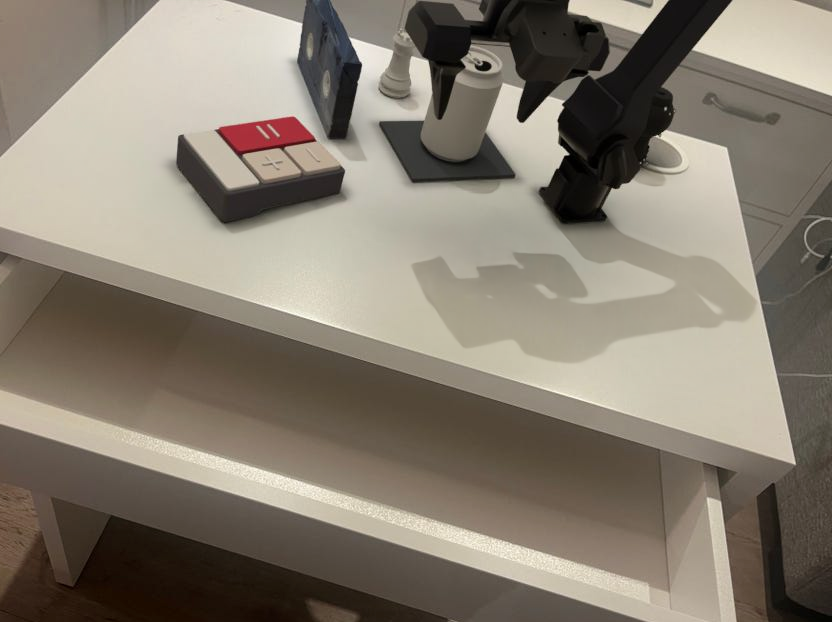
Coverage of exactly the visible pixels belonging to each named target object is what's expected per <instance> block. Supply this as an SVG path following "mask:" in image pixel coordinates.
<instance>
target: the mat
mask: <svg viewBox="0 0 832 622" xmlns="http://www.w3.org/2000/svg"><path fill="white" fill-rule="evenodd" d="M423 124H424V120H381V121H380V120H379V122H378V126H379V128H380V129H381V131H382V132H383V134H384V135H385V137H386V139H387V142H388V143H389V145H390V147H391V148H392V149H393V151H394V154H395V155H396V157H397V159H398V160H399V162H400V164H401V165H402V167H403V170H404V171H405V172H406V175H407V176H408V177H409V179H410V181H411V182H412V183H424V182H428V183H429V182H448V181H472V180H492V179H493V180H495V179H496V180H497V179H514V178H515V177H516V176H517V174H516V173H515V171H514V170H513V168H512V167H511V165H510V164H509V162H508V161H507V160H506V159H505V157H504V156H503V155H502V153H501V152H500V150H499V149H498V147H497V146H496V145H495V143H494V142H493V141H492V139H491V137H490V136H489V134H488V133H487V132H485V134H484V137H483V140H482V143H481V145H480V148H479V151H478V153H477V155H475V156H474V157H472V158H469V159H466V160H464V161H460V162H451V161H446V160H443V159H440V158H438V157H436V156H434V155H433V154H431V153H430V152H429V151H428V150H427V148H426V146H425V145H424V144H423V142H422V140H421V131H422V127H423Z"/></svg>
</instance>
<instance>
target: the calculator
mask: <svg viewBox="0 0 832 622" xmlns="http://www.w3.org/2000/svg"><path fill="white" fill-rule="evenodd" d="M175 159H176V160H175V164H176V166H177V167H178V168H179V169H180V171H181V172H182V173H183V174H184V176H185V177H186V178H187V180H188V181H189V182H190V183H191V185H192V186H193V187H194V189H195V190H196V191H197V192H198V193H199V194H200V196H201V197H202V199H203V200H204V201H205V202H206V203H207V205H208V206H209V207H210V208H211V210H212V211H213V212H214V213H215V215H216V216H217V218H219V220H220V221H221V222H223V223H227V222H231V221H237V220H240V219H245V218H250V217H254V216H255V215H257V214H258V213H260V212H261V211H262V210H266V209H270V208H276V207H280V206H284V205H289V204H294V203H298V202H302V201H308V200H312V199H317V198H321V197H326V196H330V195H335V194H339V193H340V192H341V189H342V185H343V182H344V178H345V174H346V169H345V167H343V166H342V164H341V162H340V161H339V160H338V159H337V158H336V157H335V156H334V155H333V154H332V153H331V152H330V151H329V150H328V149H327V148H326V147H325V146H324V145H323V143H321V142H320V141H318V140H317V139H316V137H315V136H314V135H313V134H312V132H310V131H309V129H308V128H307V127H306V126H305V125H303V124H302V123H301V121H300V120H299V119H298V118H297V117H295V116H293V115H292V116H285V117H278V118H272V119H265V120H257V121H252V122H244V123H238V124H232V125H223V126H219V127H218V128H217V129H207V130H199V131H194V132H193V131H192V132H186V133H184V134H179V135H178V136H177V147H176V158H175Z"/></svg>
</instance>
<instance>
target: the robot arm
mask: <svg viewBox="0 0 832 622" xmlns="http://www.w3.org/2000/svg"><path fill="white" fill-rule="evenodd" d="M570 1H571V0H480V3H479V7H478V11H479V12H480V13H481V14H482V16H483V18H482V20H474V19H472V20H471V19H465V17H464V16H463V15H462V13H461V12H460V11H459V9H458V8H457V6H456V5H455V4H454V3H450V2H449V3H448V2H439V1H438V2H437V1H430V0H429V1H427V0H418V1H417V2H416V3H415V4H414V5H413V6H411V8H410V9H409V10H408V13H407V17H406V20H405V24H404V29H405V30H406V32H407V33H408V35H409V37H410V38H411V40H412V41H413V43H414V44H415V48H416V50H417V51H418V52H419V54H420V56H421V57H422V58H424V59H426V60H427V62H428V66H429V73H430V82H431V83H430V84H431V91H432V92H431V95H432V94H433V105H434V114H435V116H436V118H437V120H442V118H443V116H444V113H445V111H446V109H447V106H448V102H449V99H450V96H451V92H452V89H453V85H454V82H455V79H456V76H457V74H458V73H460V72H461V71H462V70H464V69H465V68H466V66H465V65H464V63H463V62H462V60H461V59H462V58H463V57H465V56H466V55H468V52H469V49H470V46H472V45H478V46H479V45H482V46H493V47H506V48H507V47H508V48H510V51H511V55H512V57H513V60H514V63H515V64H514V65H515V66H514V69H515V72H516V75H517V76H518V77H519V78H520V79H521V80H523V81H525V82H524V85H523V89H522V92H521V94H520V95H521V96H520V98H519V101H518V107H517V111H516V120H517V121H518V122H519V123H520V124H524V123H526V121H527V120H528V119H529V118H530V117H531V116H532V115H533V113H534V112H535V111H536V110H537V109H539V107H540V106H541V105H542V103H544V101H545V100H546V99H547V98H548V97H549V96H550V95H551V94H552V93H553V92H554V91H556V89H557V88H558V87H559V86H560V85H561V84H563V83H564V82H566V81H569V80H572V79H576V78H582V79H580V82H579V83H578V85H577V87H576V88H575V90H574V91H573V93H572V94H571V95H570V96H569V97H568V98H567V99H566V100H565V101H564V102H562V103H561V106H562V107H563V108H562V110H561V111H560V112H559V115H558V117H557V120H556V122H557V131H558V138H557V139H558V140H557V144H558V145H559V146H560V147H561V148H563V149H564V150H565V152H567V153H568V154H564V156H563V158H562V159H561V162H560V164H559V167H558V168H557V167H556V169H555V170H554V172H553V174H552V176H551V178H550V181H549V183H548V185H547V186H540V187H539V189H538V193H539V194H540V196H541V198H543V200H544V201H545V203H546V204H547V205H548V206H549V208H550V209H551V211H552V212H553V213H554V215H555V217H556V218H557V219H558V221H559V222H560V223H561V224H565V225H567V224H568V225H569V224H582V223H595V222H596V223H597V222H606V221H607V219H608V215H607V214H606V212H605V211H604V210H603V207H604V205H605V202H606V201H607V199H608V197H609V195H610V193H611V191H612V190H619V189H620V188H621V186H622V185H625V184H629V183H631V182H632V180H633V179H634V178H635V177H636V175H637V174H639V172H640V171H641V169H642V167H641V166H640V164H639V162H638V159H637V157H636V155H635V152H634V150H633V146H634V144H635V143H636V142H637V140H638V139H639V137H640V136H641V134H642V133H643V131H644V130H645V127H646V123H647V119H648V114H649V109H650V105H651V100H652V98H653V97H654V95H655V94H656V93H657V91H658V90H659V89H660V88H661V87H662V88H663V85H664V84H665V83H666V82H667V81H668V79H669V78H670V77H671V76H672V75H673V73H674V72H675V71H676V70H677V69H678V67H679V66H680V65H681V64H682V63H683V61H684V60H685V59H686V58H687V56H688V55H689V54H690V53H691V52H692V50H693V49H695V47H696V45H697V44H698V43H699V42H700V40H702V39H703V37H704V36H705V35H706V33H707V32H708V31H709V30H710V29H711V28H712V27H713V25H714V24H715V22H716V21H717V20H718V19H719V18H720V16H721V15H722V14H723V13H724V11H726V9H727V8H728V7H729V5H730V4H731V3H732V2H733V0H667V1H666V2H665V4H664V5H663V7H662V8H661V9H660V11H659V12H658V13H657V14H656V15H655V17H654V18H653V19H652V21H651V22H650V24H648V26H647V27H646V28H645V30H644V31H643V32H642V34H640V36H639V37H638V39H637V40H636V42H635V43H633V45H632V47H630V49H629V50H628V51H627V53H626V55H625V56H624V57H623V58H622V60H621V61H620V62H619V63H618V65H617V66H616V67H615V68H614V69H613V70H612V71H609V72H608V73H605V74H603V75H601V76H599V77H596V78H594V77H592V75H590V74H589V73H590V72H601V71H602V70H603V67H604V66H605V64H606V61H607V59H608V58H609V56H610V53H611V45H610V39H609V38H608V36H607V35H606V31H605V29H604V26H603V23H602V22H601V21H600V22H598V21H592V19H591V18H590V17H589V16H588V15H581V14H572V13H571V14H570V13H568V12H569V4H570ZM404 29H403V30H404Z"/></svg>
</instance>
